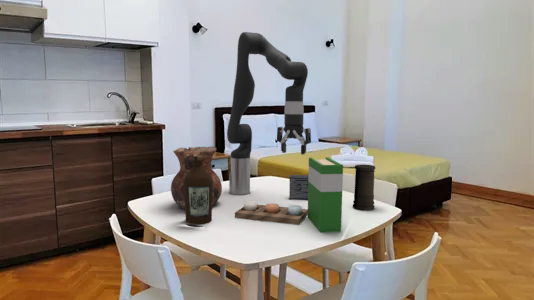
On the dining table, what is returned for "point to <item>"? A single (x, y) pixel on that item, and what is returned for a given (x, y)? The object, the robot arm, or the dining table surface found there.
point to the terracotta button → (272, 208)
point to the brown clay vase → (186, 165)
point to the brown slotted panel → (271, 215)
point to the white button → (250, 206)
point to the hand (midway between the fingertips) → (293, 153)
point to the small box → (298, 187)
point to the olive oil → (198, 194)
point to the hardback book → (325, 194)
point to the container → (364, 187)
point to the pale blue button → (295, 210)
